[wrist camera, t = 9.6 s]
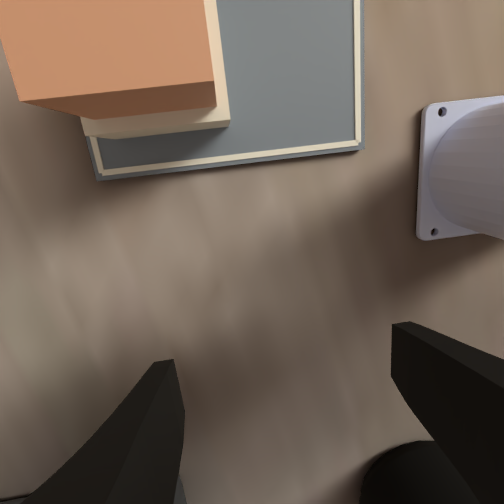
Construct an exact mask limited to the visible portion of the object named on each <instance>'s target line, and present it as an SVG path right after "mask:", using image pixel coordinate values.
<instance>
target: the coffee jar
mask: <svg viewBox="0 0 504 504" xmlns="http://www.w3.org/2000/svg"><path fill="white" fill-rule="evenodd" d="M359 504H480V503H479V501H478V500H477V498H476V497H475V495H474V493H473V492H472V490H471V489H470V487H469V486H468V484H467V483H466V482H465V480H464V479H463V477H462V476H461V475H460V473H459V472H458V471H457V469H456V468H455V467H454V465H453V464H452V463H451V461H450V460H449V459H448V457H447V456H446V455H445V453H444V452H443V451H442V450H441V448H440V447H439V446H438V444H437V443H436V442H435V441H416V442H413V443H409V444H405V445H401V446H399V447H397V448H395V449H393V450H392V451H390V452H388V453H386V454H385V455H383V456H382V457H381V458H380V459H379V460H378V461H376V462H375V463H374V464H373V465H372V467H371V468H370V470H369V471H368V473H367V474H366V476H365V477H364V481H363V485H362V489H361V496H360V500H359Z"/></svg>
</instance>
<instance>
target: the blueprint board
mask: <svg viewBox="0 0 504 504" xmlns="http://www.w3.org/2000/svg"><path fill="white" fill-rule="evenodd" d="M204 8H205V15H206V23H207V30H208V38H209V45H210V53H211V60H212V68H213V75H214V83H215V92H216V101H217V106H215V107H206V108H197V109H188V110H179V111H170V112H161V113H152V114H143V115H134V116H125V117H116V118H107V119H98V120H92V119H88V118H84V117H80V119H81V123H82V127H83V131H84V135H85V138H86V141H87V145H88V149H89V153H90V157H91V161H92V165H93V169H94V173H95V177H96V181H104V180H112V179H120V178H129V177H137V176H145V175H154V174H162V173H170V172H179V171H187V170H195V169H204V168H212V167H220V166H229V165H237V164H245V163H254V162H262V161H270V160H279V159H287V158H295V157H303V156H312V155H320V154H328V153H337V152H345V151H353V150H362V149H365V126H364V0H204Z"/></svg>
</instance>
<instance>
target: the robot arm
mask: <svg viewBox="0 0 504 504" xmlns="http://www.w3.org/2000/svg"><path fill="white" fill-rule="evenodd" d="M440 108H441V109H442V115H441V116H439V115H438V110H439V109H440ZM432 229H435V231H434V233H433V234H431V230H432ZM479 233H483V234H486V235H489V236H492V237H496V238H499V239H502V240H504V95H502V96H493V97H485V98H476V99H467V100H458V101H450V102H441V103H433V104H429V105H427V106H426V107H424V109H423V111H422V117H421V138H420V159H419V181H418V202H417V224H416V236H417V237H418V238H419V239H421V240H423V241H428V240H435V239H442V238H449V237H457V236H464V235H471V234H479ZM391 377H392V379H393V381H394V382H395V384H396V386H397V388H398V390H399V391H400V393H401V395H402V396H403V398H404V400H405V401H406V403H407V405H408V406H409V407H410V409H411V410H412V411H413V413H414V414H415V415H416V417H417V418H418V419H419V421H420V422H421V423H422V425H423V426H424V427H425V429H426V430H427V431H428V433H429V434H430V435H431V436H432V438H433V439H434V440H435V442H436V443H437V444H438V446H439V447H440V448H441V450H442V451H443V452H444V453H445V455H446V456H447V457H448V459H449V460H450V461H451V463H452V464H453V465H454V467H455V468H456V469H457V471H458V472H459V473H460V475H461V476H462V477H463V479H464V480H465V482H466V483H467V484H468V486H469V487H470V489H471V490H472V492H473V493H474V495H475V497H476V498H477V500H478V501H479V503H480V504H504V359H501V358H498V357H496V356H493V355H491V354H488V353H486V352H483V351H481V350H478V349H476V348H474V347H471V346H469V345H466V344H464V343H462V342H459V341H457V340H455V339H452V338H450V337H448V336H445V335H443V334H441V333H438V332H436V331H434V330H431V329H429V328H426V327H424V326H421V325H419V324H416V323H413V322H410V321H409V322H403V323H397V324H392V348H391ZM184 419H185V410H184V405H183V400H182V396H181V391H180V387H179V382H178V378H177V373H176V369H175V364H174V359H171V360H164V361H158V362H154V363H153V364H152V365H151V367H150V368H149V369H148V370H147V371H146V373H145V374H144V375H143V376H142V378H141V379H140V380H139V382H138V383H137V384H136V385H135V387H134V388H133V389H132V390H131V392H130V393H129V394H128V395H127V397H126V398H125V399H124V400H123V401H122V403H121V404H120V405H119V406H118V408H117V409H116V410H115V411H114V412H113V414H112V415H111V416H110V417H109V418H108V419H107V420H106V421H105V422H104V424H103V425H102V426H101V427H100V428H99V429H98V430H97V431H96V432H95V434H94V435H93V436H92V437H91V438H90V439H89V440H88V441H87V442H86V443H85V444H84V445H83V446H82V447H81V448H80V449H79V450H78V451H77V452H76V453H75V454H74V455H73V456H72V457H71V458H70V459H69V460H68V461H67V462H66V463H65V464H64V465H63V466H62V467H61V468H60V469H59V470H58V471H57V472H56V473H55V474H54V475H52V476H51V477H50V478H49V479H48V480H47V481H46V482H45V483H43V484H42V485H41V486H40V487H39V488H38V489H36V490H35V491H34V492H33V493H32V494H31V495H30V496H28V497H27V498H26V499H25V500H24V501H23V502H21V503H20V504H174V497H175V491H176V485H177V479H178V473H179V467H180V461H181V455H182V448H183V439H184Z"/></svg>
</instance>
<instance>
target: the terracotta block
mask: <svg viewBox="0 0 504 504" xmlns="http://www.w3.org/2000/svg"><path fill="white" fill-rule="evenodd" d="M0 38H1V42H2V45H3V48H4V51H5V55H6V58H7V61H8V65H9V68H10V71H11V74H12V78H13V81H14V84H15V87H16V91H17V94H18V97H19V100H20V101H21V102H25V103H29V104H33V105H36V106H40V107H44V108H48V109H52V110H56V111H60V112H64V113H68V114H72V115H76V116H80V117H84V118H88V119H92V120H98V119H107V118H116V117H125V116H134V115H143V114H152V113H161V112H170V111H179V110H188V109H197V108H206V107H215V106H217V101H216V92H215V83H214V75H213V68H212V60H211V53H210V45H209V38H208V30H207V23H206V15H205V8H204V0H0Z"/></svg>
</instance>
